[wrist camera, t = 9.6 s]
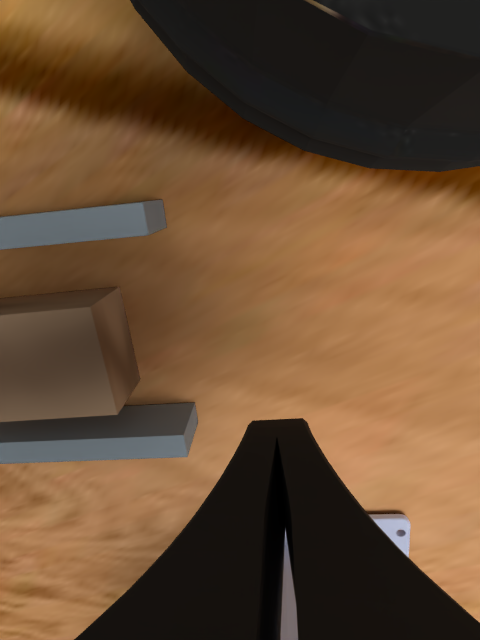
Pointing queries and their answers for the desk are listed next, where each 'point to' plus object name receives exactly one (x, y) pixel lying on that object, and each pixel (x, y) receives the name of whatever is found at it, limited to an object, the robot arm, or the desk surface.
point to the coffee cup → (340, 73)
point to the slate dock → (132, 421)
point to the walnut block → (65, 355)
